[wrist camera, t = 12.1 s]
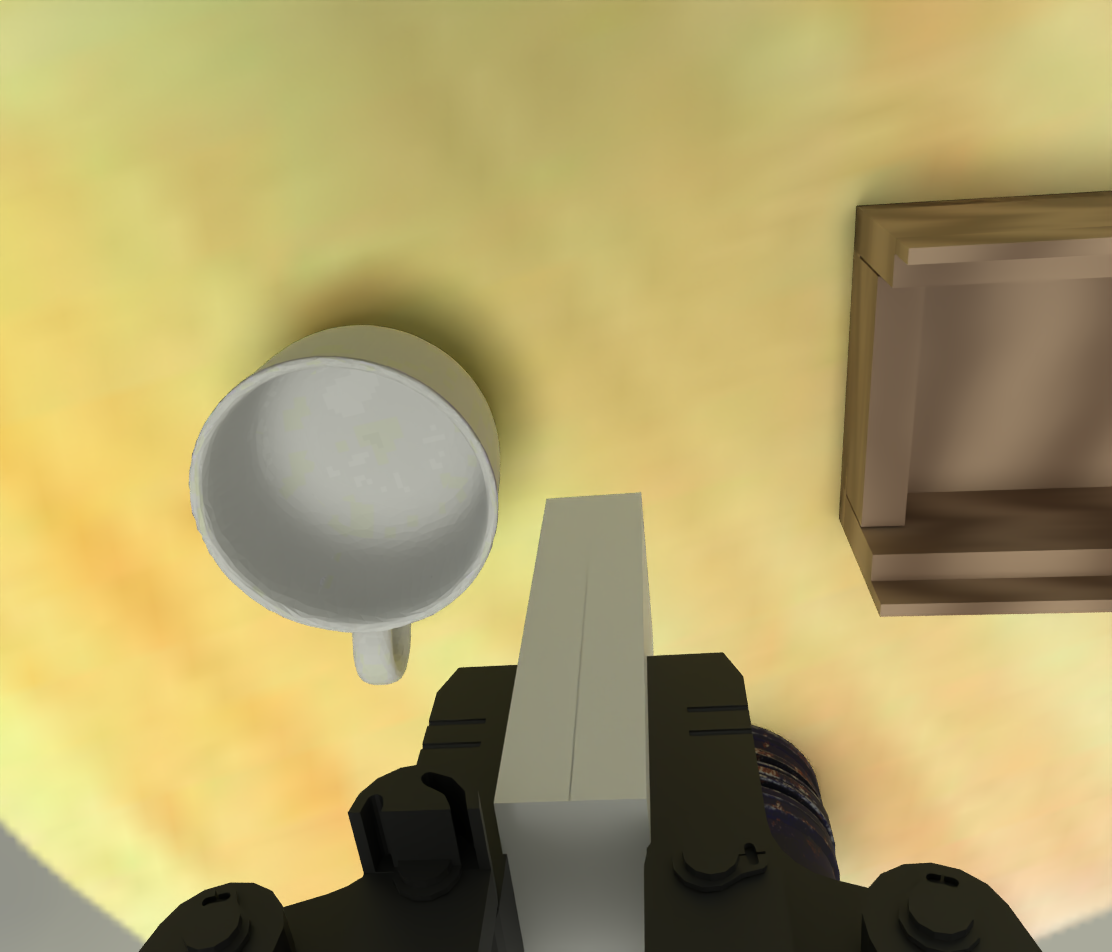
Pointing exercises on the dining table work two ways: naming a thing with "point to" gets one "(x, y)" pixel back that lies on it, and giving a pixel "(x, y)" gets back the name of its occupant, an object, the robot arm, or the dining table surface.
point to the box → (981, 405)
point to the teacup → (351, 487)
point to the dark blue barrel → (794, 804)
